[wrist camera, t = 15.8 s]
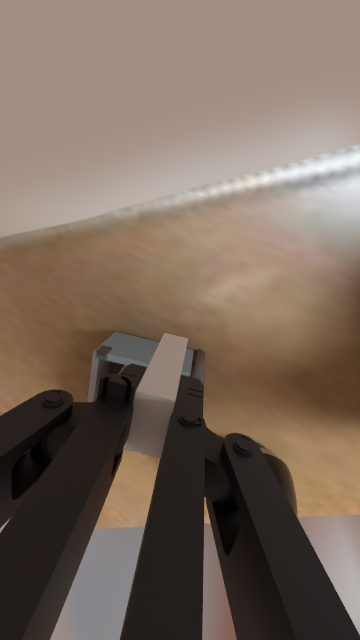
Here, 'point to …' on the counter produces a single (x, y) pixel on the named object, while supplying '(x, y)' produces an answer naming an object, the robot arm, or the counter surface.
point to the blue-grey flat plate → (135, 351)
